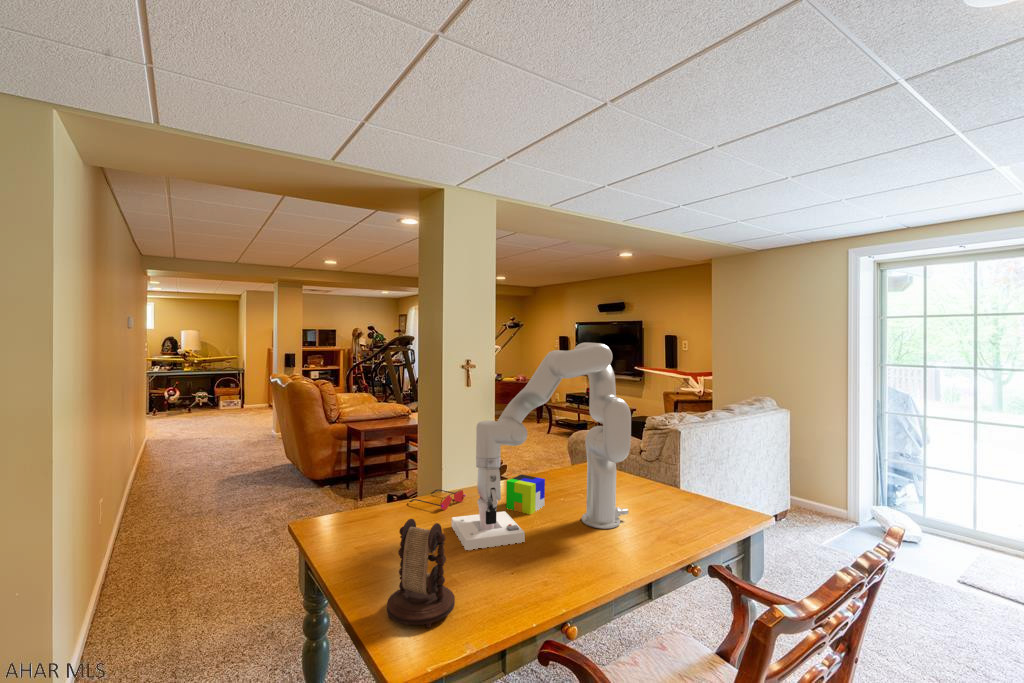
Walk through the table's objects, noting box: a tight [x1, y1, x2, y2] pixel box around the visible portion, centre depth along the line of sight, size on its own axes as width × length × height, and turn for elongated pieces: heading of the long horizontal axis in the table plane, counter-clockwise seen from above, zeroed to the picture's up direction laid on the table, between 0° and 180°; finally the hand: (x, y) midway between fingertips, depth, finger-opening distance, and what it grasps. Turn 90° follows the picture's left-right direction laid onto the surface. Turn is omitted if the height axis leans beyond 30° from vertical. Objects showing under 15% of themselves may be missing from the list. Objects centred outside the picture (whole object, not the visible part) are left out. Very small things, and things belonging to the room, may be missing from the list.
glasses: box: [409, 489, 466, 511], centre depth 176 cm, size 14×16×5 cm
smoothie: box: [476, 497, 499, 531], centre depth 148 cm, size 6×6×14 cm
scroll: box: [386, 518, 456, 629], centre depth 106 cm, size 15×15×20 cm
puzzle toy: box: [505, 474, 546, 515], centre depth 172 cm, size 10×10×10 cm
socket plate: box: [451, 510, 526, 551], centre depth 148 cm, size 18×18×4 cm
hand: (487, 519), depth 148 cm, fingers closed on smoothie, 6 cm apart
